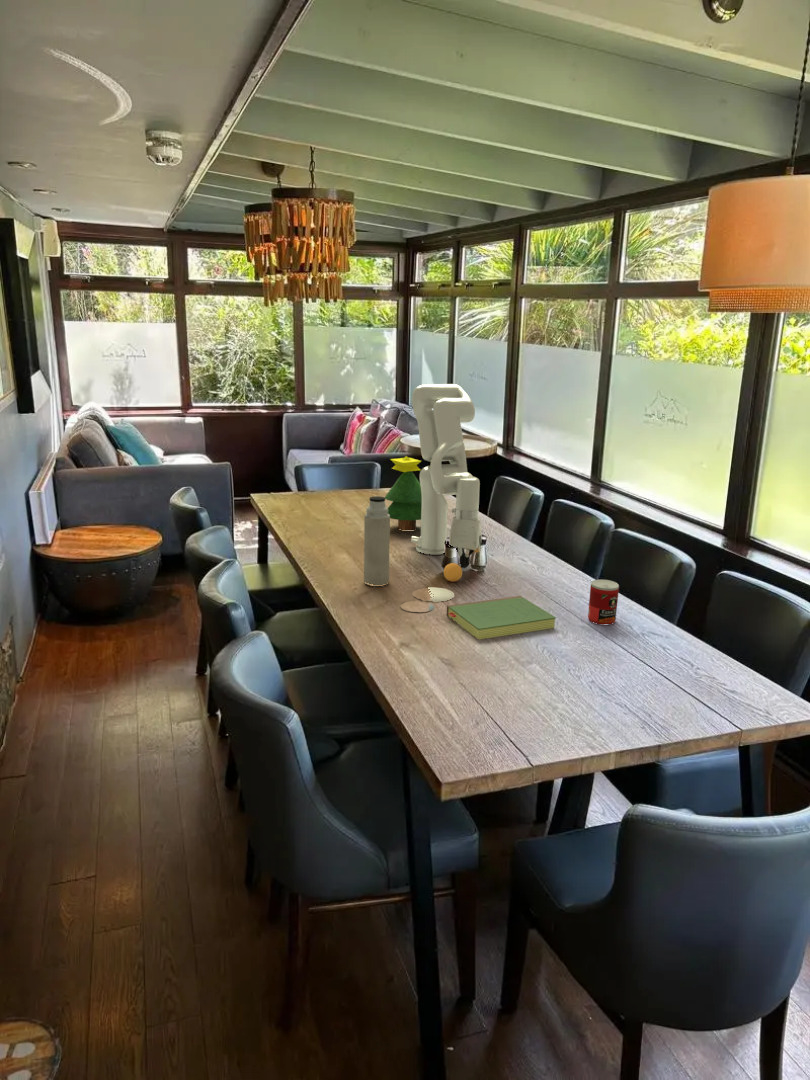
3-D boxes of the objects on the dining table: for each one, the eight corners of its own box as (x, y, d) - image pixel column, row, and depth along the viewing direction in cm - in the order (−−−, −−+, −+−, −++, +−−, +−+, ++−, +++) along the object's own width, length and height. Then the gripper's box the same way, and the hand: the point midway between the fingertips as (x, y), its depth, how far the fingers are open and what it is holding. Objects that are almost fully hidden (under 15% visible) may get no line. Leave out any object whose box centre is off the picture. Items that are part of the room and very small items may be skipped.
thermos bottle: (376, 577, 253) (377, 493, 246) (393, 583, 248) (395, 497, 241) (358, 582, 248) (359, 497, 240) (376, 588, 243) (377, 501, 235)
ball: (440, 565, 248) (447, 560, 254) (441, 583, 250) (447, 577, 255) (458, 566, 246) (464, 561, 251) (458, 584, 248) (465, 579, 253)
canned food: (600, 627, 216) (604, 589, 213) (581, 617, 222) (584, 581, 220) (621, 623, 219) (625, 586, 216) (602, 613, 226) (605, 577, 223)
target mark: (404, 597, 235) (404, 596, 235) (423, 585, 247) (423, 584, 247) (443, 604, 230) (443, 604, 230) (460, 592, 241) (461, 591, 241)
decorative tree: (440, 531, 311) (442, 457, 303) (400, 538, 301) (402, 461, 293) (412, 521, 326) (414, 450, 318) (373, 527, 316) (374, 453, 308)
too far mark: (394, 609, 226) (394, 608, 226) (409, 598, 234) (409, 598, 234) (425, 615, 221) (425, 614, 221) (439, 604, 230) (439, 604, 230)
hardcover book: (519, 607, 231) (520, 595, 230) (555, 630, 214) (556, 617, 213) (444, 618, 221) (444, 605, 220) (475, 642, 205) (476, 629, 204)
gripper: (441, 513, 257) (439, 566, 262) (483, 519, 250) (481, 573, 255) (450, 509, 263) (448, 560, 268) (492, 514, 257) (489, 567, 262)
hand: (464, 566), depth 262 cm, fingers closed
